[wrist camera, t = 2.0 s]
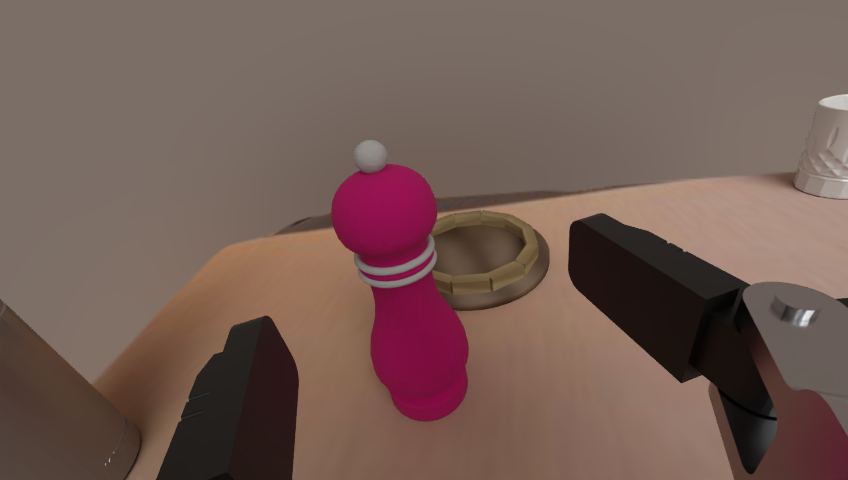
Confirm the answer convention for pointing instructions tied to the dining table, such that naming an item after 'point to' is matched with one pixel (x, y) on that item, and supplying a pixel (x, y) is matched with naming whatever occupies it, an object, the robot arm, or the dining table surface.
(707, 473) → the dining table surface
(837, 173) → the white cup
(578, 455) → the dining table surface
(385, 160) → the pepper mill
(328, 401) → the dining table surface
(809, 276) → the dining table surface
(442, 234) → the tray
